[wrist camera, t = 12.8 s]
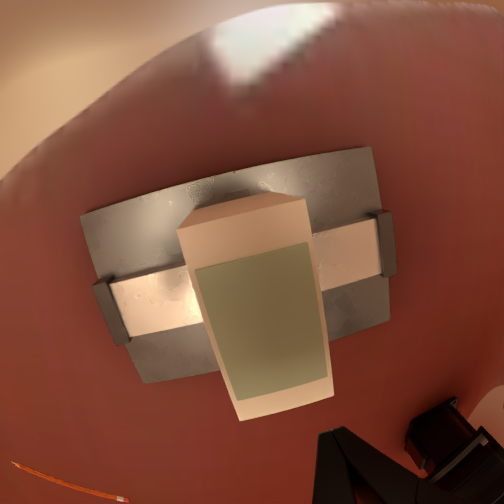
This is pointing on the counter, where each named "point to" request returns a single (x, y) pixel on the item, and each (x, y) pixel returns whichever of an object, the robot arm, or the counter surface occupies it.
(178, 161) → the counter surface
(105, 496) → the pencil
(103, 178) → the counter surface
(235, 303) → the din module
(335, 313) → the din rail
